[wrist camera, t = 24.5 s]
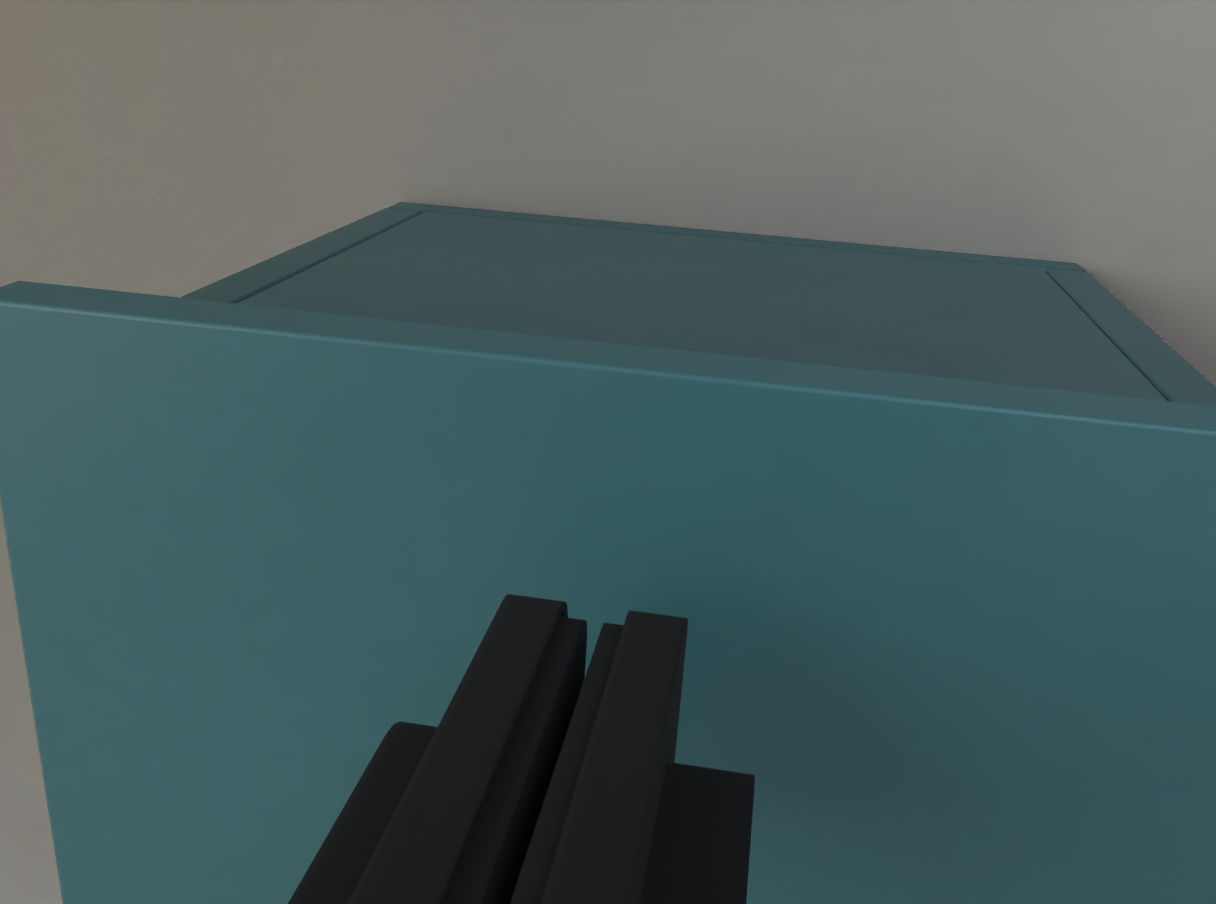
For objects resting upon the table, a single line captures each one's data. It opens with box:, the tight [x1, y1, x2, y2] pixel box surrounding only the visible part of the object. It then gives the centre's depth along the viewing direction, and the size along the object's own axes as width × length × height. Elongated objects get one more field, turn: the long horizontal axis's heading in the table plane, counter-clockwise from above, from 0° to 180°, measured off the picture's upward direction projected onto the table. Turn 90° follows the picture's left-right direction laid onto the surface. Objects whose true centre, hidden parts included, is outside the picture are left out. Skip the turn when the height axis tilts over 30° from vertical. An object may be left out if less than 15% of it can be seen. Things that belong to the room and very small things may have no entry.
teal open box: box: [180, 202, 1216, 406], centre depth 20 cm, size 16×14×12 cm
